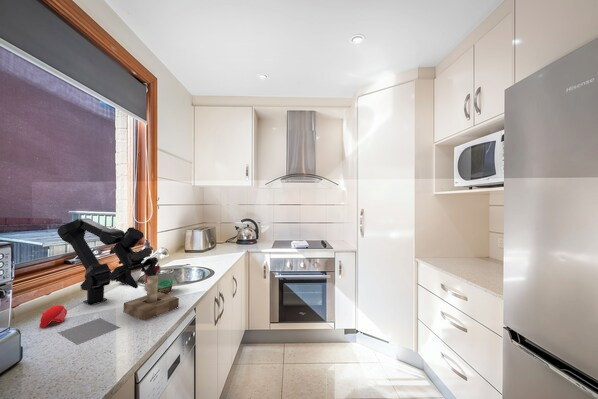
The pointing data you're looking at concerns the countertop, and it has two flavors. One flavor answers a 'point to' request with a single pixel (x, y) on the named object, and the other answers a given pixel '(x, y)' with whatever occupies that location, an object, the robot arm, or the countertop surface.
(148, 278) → the peg
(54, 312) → the cap
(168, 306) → the hole block
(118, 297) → the countertop surface
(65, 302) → the countertop surface
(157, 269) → the soda can
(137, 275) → the lidded jar
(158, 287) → the food container
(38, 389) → the countertop surface
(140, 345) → the countertop surface
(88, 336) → the mat
